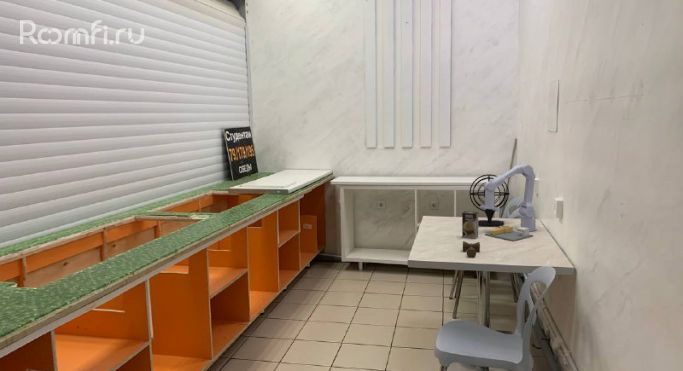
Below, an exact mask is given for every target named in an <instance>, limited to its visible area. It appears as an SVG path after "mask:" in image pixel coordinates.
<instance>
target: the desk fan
mask: <svg viewBox="0 0 683 371" xmlns="http://www.w3.org/2000/svg"><path fill="white" fill-rule="evenodd" d="M496 176H497V175H496V174H490V173H489V174H487V173H486V174H483V175H480V176H479V177H477V178H475V180H474V181H472V184H470V187H469V199H470V201H471V203H472V205H473V206H474V207H475V208H476V209H478V210H480V211H481V212H484V210H485V209H480V206H482V204H483V205H485V200H483V199H482V198H481V196H483V197H484V198H485V189H484V188H483V189H484V190H483V191H480V190H481V188H482V187H484V184H485V183H486V182H490V180H492V179H494V178H496ZM480 178H481V179H480ZM485 180H487V181H485ZM482 181H485V182H483V183H481V184H480V185H479V183H480V182H482ZM473 185H474V186H473ZM477 185H479V187H478V189H477V192H476V191H475V189H476V186H477ZM504 185H505V186H504ZM500 186H502V188H503V192H502V191H501V190H500V187H499V186H498V187H496V189H498V192H497V191H494V197H497V198H496V199H494V207H497V208H500V210H501V209H502V208H504V206H505V205H506V204H507V203H508V200H509V196H510V195H511V194H510V191H509V186H508V184H507V183H506V181H505V182H504V183H503V184H501V185H500ZM472 187H473V188H472ZM505 187H506V189H505ZM471 191H472V192H471ZM506 191H507V192H506ZM475 196H477V197H478V200H479V202H480V203H482V204H480V203H479V202H478V201H477V200H476V198H475ZM501 196H503V197H502V199H501ZM472 198H473V199H472ZM500 199H501V201H500V202H499V200H500ZM473 200H474V201H473ZM498 202H499V203H498ZM497 203H498V204H497ZM495 204H496V205H495ZM503 225H505V222H504V221H503V220H499V219H498V220H497V219H492V221H488V219H482V220H481V219H478V227H499V226H503Z"/></svg>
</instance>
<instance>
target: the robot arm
mask: <svg viewBox="0 0 683 371" xmlns="http://www.w3.org/2000/svg"><path fill="white" fill-rule="evenodd" d="M517 174H518V175H520V174H521V175H522V176H523V177H524V178H525V184H524V185H525V186H524V192H523V200H522V203H521V204H520V207H519V209H518V212H519V214H520V227H524V228H529V233H530V232H534V231H537V228H536V227H537V226H536V223H537V222H536V218H535V217H534V215H535V209H534V207H535V206H534V205H533V199H534V191H535V189H534V188H535V182H536V174H535V172H534V167H533V166H531V165H530V164H529V163H527V164H525V163H521V162H520V163H518V164H517V165H514V167H513V168H511V169H509V170H508V171H507V172H505V173H503V175H502V174H499V175H496V177H493V178H494V179H490V182H488V181H485V182H486V183H485V182H484V184H483V185H484V186H483V189H485V197H484V201H485V202H484V203H485V204H483V205H482V204H481V205H482V206H479V208H480V209H483V210H484V211H483V212H484V214H486V215H485V216H486V218H487V219H486V220H488V221H492V220H493V216H494V214H495V212H500V211H501V209H500V207H494V206H495V204H494V203H495V202H494V201H495V196H494V194H495V193H494V192H495V190H496V189H497V187H499V186H502V185H501V184H503V185H504V184H505V183H506V180H508V179H509V178H511V177H512V176H515V175H517ZM504 182H505V183H504Z"/></svg>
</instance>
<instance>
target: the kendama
mask: <svg viewBox="0 0 683 371" xmlns="http://www.w3.org/2000/svg"><path fill="white" fill-rule="evenodd" d="M480 243H481V242H480V241H477V242H474V243H468V242H467V241H465V240H463V241H462V252H466V256H467V257H468V258H471V257H472V258H475V257H476V255H477V252H478V253H479V252H481V251H480V250H481V244H480Z"/></svg>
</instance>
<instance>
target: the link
mask: <svg viewBox="0 0 683 371" xmlns="http://www.w3.org/2000/svg"><path fill="white" fill-rule="evenodd" d="M497 227H498V228H494V229H490V230H489V233H490V234H492V235H496V234H500V233H508V232H512V231H514V226H510V225H508V227H507V228H505V227H503V226H497Z"/></svg>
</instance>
